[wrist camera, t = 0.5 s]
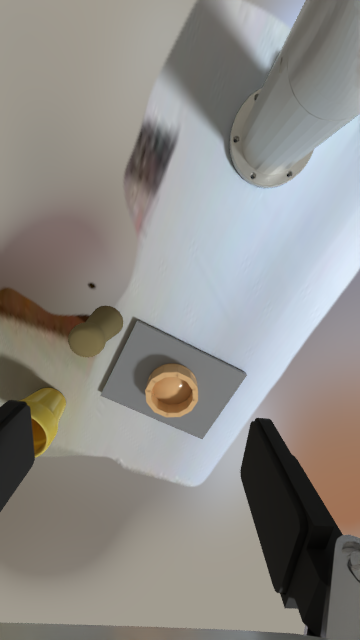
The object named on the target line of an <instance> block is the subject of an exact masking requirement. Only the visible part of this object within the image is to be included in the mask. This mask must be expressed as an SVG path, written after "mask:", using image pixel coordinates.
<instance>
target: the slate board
mask: <svg viewBox="0 0 360 640" xmlns="http://www.w3.org/2000/svg"><path fill="white" fill-rule="evenodd" d="M168 363H176V364H181V365H183V366H185V367H187V368H188V369H190V370H191V371H192V372H193V374H194V375H195V377H196V380H197V386H198V402H197V403H196V405H195V406H194V408H193V409H192V411H190V412H189V413H187V414H185V415H183V416H181V417H164V416H162V415H160V414H157V413H155V412H154V411H153V410H152V409H151V408H150V406H149V405H148V404H147V402H146V393H145V389H146V386H147V382H148V379H149V377H150V375H151V373H152V372H153V371H154V370H155V369H156V368H158V367H159V366H161V365H164V364H168ZM246 376H247V374H246V373H245V372H243V371H241V370H239V369H237V368H235V367H233V366H231V365H229V364H227V363H225V362H223V361H221V360H219V359H217V358H215V357H213V356H211V355H209V354H207V353H205V352H203V351H200V350H198V349H196V348H194V347H192V346H190V345H188V344H186V343H184V342H182V341H180V340H178V339H176V338H174V337H172V336H170V335H168V334H166V333H164V332H162V331H160V330H158V329H156V328H154V327H152V326H150V325H148V324H146V323H143V322H141V321H139V320H137V322H136V324H135V326H134V328H133V330H132V332H131V334H130V336H129V338H128V340H127V342H126V344H125V346H124V349H123V351H122V353H121V355H120V357H119V359H118V361H117V363H116V365H115V367H114V369H113V371H112V373H111V375H110V377H109V379H108V381H107V383H106V385H105V387H104V389H103V391H102V393H101V396H103V397H105V398H107V399H110V400H112V401H114V402H117V403H119V404H121V405H124V406H126V407H128V408H131V409H133V410H135V411H138V412H140V413H142V414H145V415H147V416H149V417H152V418H154V419H156V420H159V421H161V422H163V423H166V424H168V425H170V426H173V427H175V428H177V429H180V430H182V431H184V432H187V433H189V434H191V435H194V436H196V437H198V438H201V439H203V437H204V436H205V435H206V433H207V432H208V430H209V429H210V427H211V426H212V425H213V423H214V422H215V420H216V419H217V417H218V416H219V414H220V413H221V412H222V410H223V409H224V407H225V406H226V404H227V403H228V402H229V400H230V399H231V397H232V396H233V394H234V393H235V392H236V390H237V389H238V387H239V386H240V384H241V383H242V382H243V380H244V379H245V377H246Z"/></svg>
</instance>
